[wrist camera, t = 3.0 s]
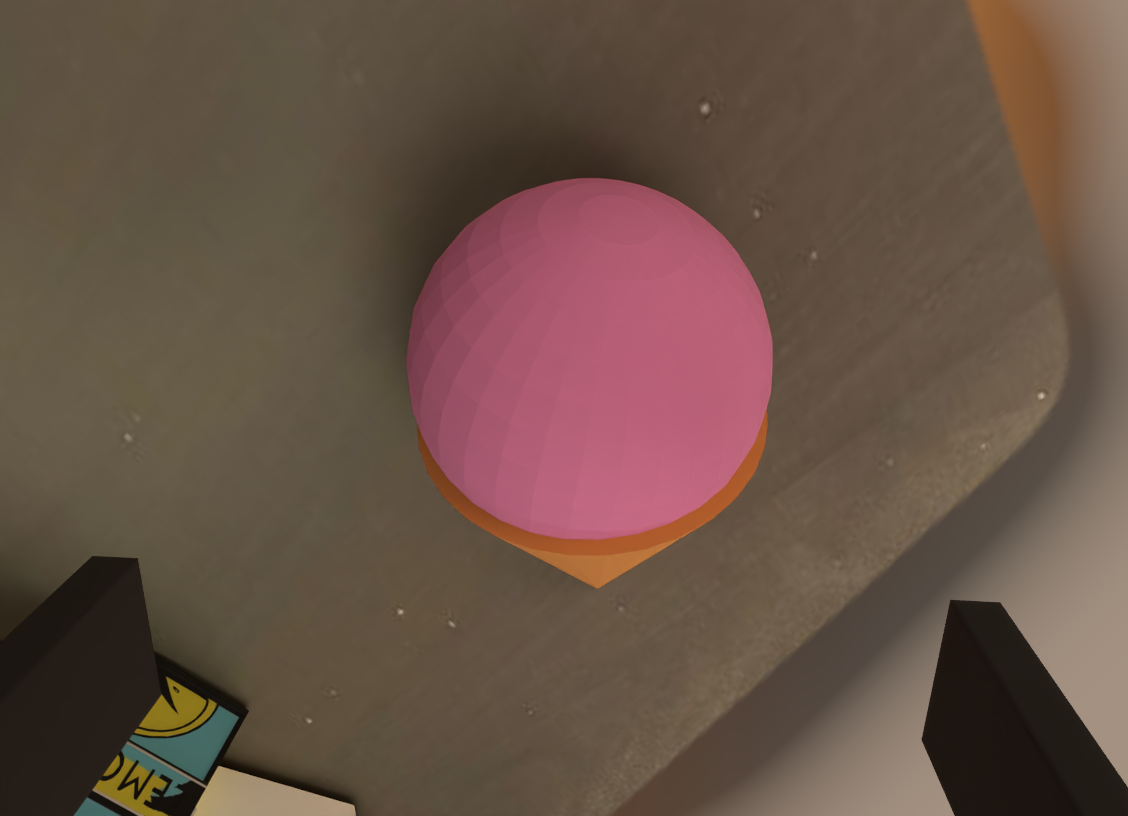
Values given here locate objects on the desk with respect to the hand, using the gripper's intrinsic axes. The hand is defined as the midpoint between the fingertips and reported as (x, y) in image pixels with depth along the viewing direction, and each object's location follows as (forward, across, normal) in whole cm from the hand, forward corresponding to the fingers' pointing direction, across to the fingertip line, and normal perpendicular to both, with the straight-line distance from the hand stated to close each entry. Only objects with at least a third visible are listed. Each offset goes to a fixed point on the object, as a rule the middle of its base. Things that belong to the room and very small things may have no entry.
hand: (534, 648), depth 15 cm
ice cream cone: (+14, 0, 0) cm, 14 cm away
